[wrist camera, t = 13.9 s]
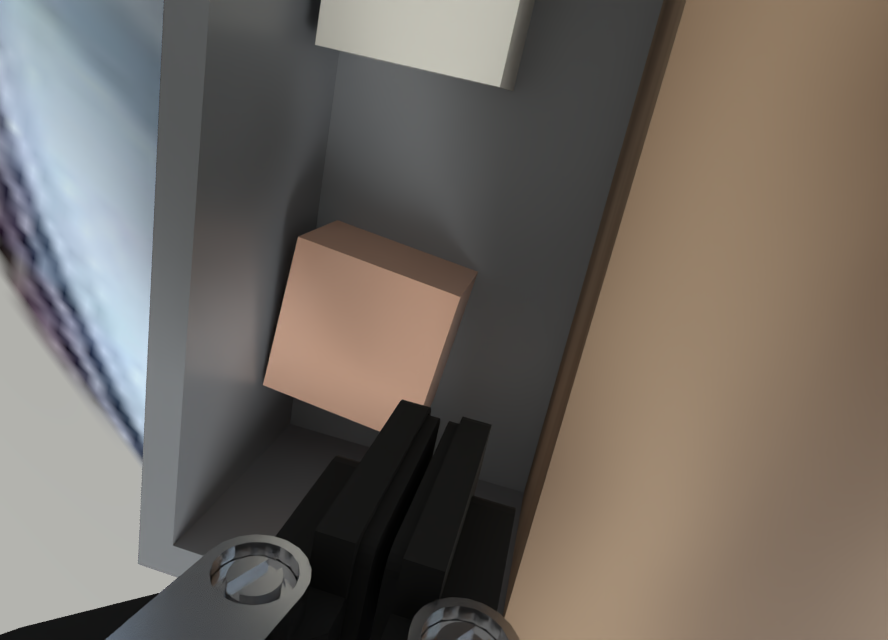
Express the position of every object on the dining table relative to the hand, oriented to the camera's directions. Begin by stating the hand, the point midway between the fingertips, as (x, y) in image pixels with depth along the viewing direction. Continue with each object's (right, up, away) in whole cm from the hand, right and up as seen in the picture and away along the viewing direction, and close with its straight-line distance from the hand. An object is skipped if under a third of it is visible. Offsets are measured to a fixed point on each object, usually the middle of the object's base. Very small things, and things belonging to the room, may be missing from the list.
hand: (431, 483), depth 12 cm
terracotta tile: (-2, +2, +4) cm, 5 cm away
